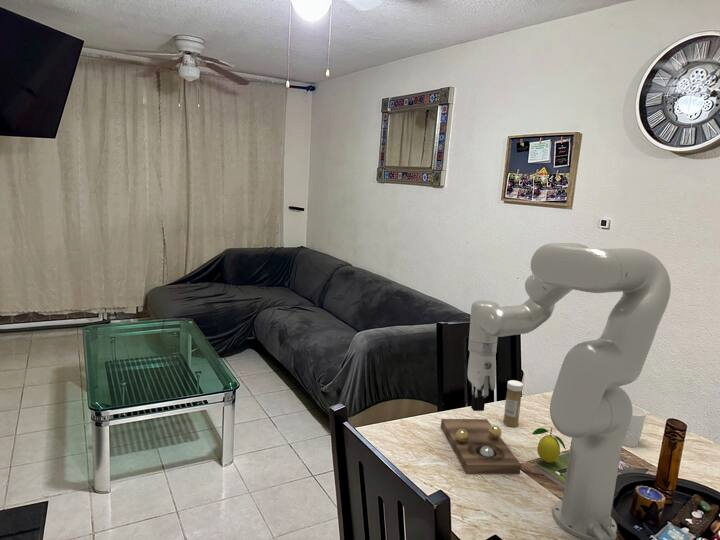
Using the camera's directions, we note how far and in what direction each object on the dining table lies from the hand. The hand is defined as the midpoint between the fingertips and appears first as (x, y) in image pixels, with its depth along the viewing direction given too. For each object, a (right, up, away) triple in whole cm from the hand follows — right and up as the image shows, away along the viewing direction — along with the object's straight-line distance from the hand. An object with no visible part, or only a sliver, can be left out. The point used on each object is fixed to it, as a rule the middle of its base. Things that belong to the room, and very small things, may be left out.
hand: (477, 409), depth 135 cm
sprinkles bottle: (+13, -9, +14) cm, 21 cm away
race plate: (-1, -10, -2) cm, 10 cm away
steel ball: (0, -9, -8) cm, 12 cm away
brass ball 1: (-5, -6, -4) cm, 9 cm away
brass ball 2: (+5, -6, -1) cm, 8 cm away
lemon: (+17, -12, -7) cm, 22 cm away
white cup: (+45, -12, +7) cm, 47 cm away
